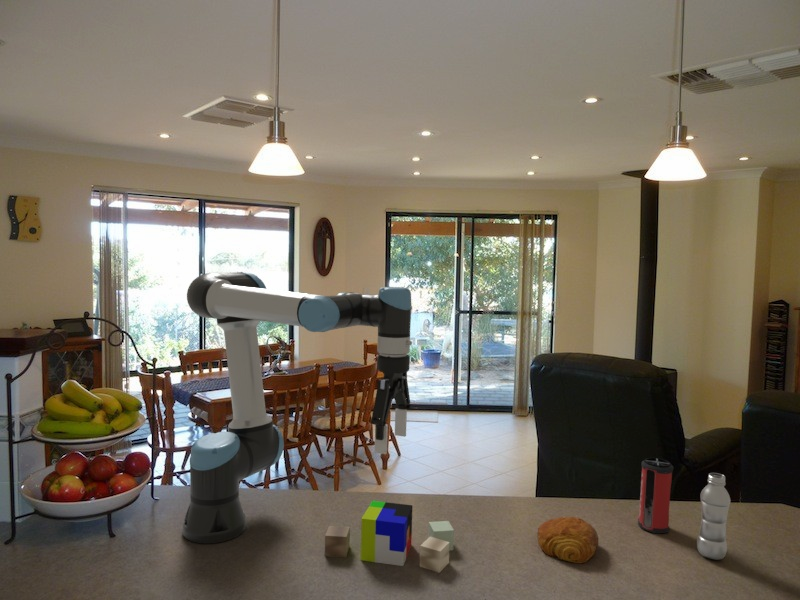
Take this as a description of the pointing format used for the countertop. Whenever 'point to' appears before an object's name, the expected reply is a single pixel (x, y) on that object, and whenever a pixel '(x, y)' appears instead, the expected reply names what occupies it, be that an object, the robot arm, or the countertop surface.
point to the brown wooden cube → (337, 541)
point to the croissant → (568, 539)
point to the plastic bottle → (714, 518)
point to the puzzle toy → (386, 533)
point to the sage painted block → (442, 532)
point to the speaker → (655, 495)
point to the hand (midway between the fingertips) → (390, 444)
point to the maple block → (434, 554)
